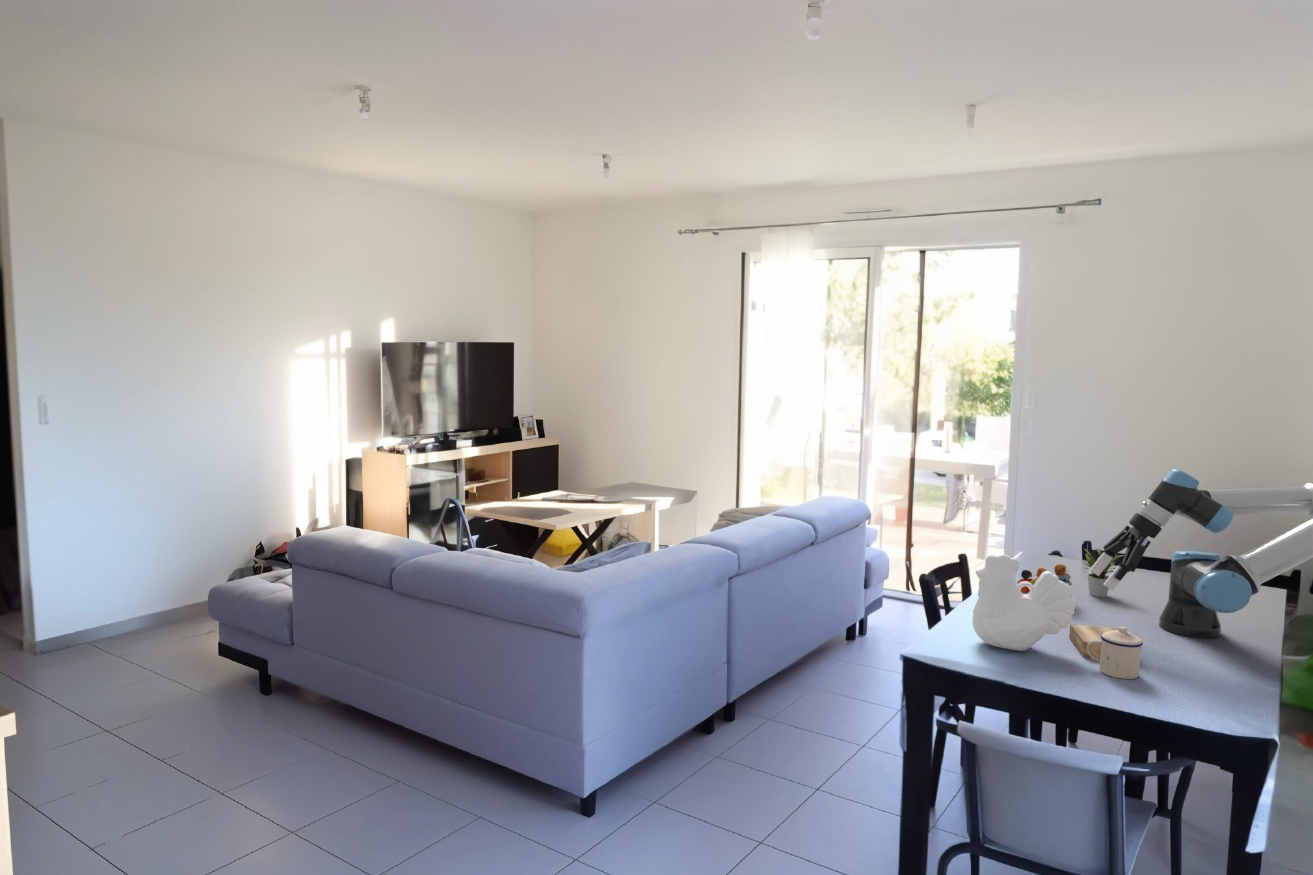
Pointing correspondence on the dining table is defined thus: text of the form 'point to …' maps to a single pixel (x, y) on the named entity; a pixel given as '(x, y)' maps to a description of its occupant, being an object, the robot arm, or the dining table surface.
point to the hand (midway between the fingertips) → (1100, 580)
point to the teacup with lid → (1119, 653)
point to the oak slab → (1087, 638)
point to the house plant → (1096, 581)
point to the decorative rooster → (1018, 605)
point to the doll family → (1026, 574)
